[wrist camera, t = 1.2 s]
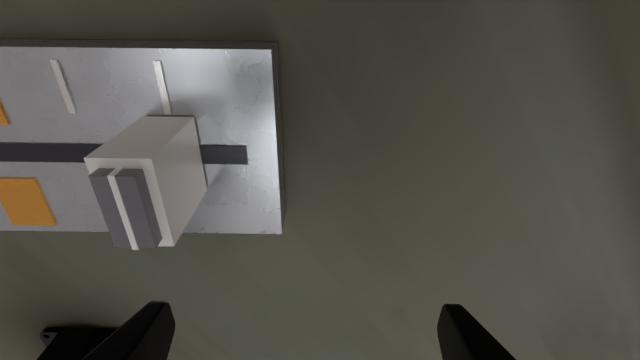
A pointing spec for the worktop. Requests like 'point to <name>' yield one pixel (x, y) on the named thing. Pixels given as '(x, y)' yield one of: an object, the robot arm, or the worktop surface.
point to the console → (126, 108)
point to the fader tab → (148, 181)
